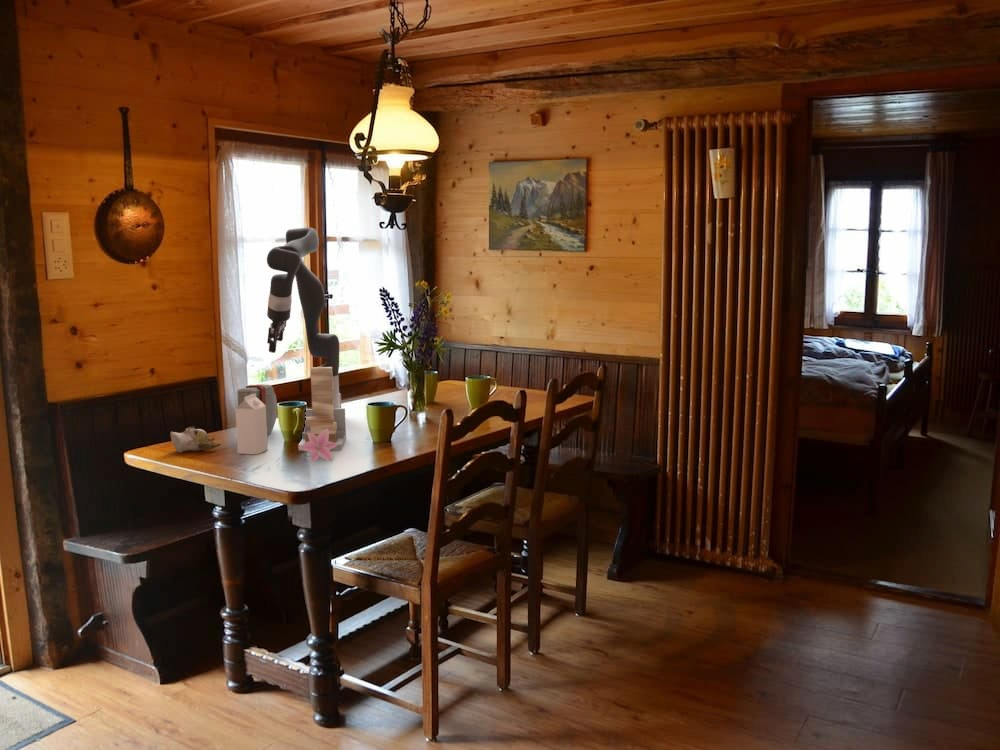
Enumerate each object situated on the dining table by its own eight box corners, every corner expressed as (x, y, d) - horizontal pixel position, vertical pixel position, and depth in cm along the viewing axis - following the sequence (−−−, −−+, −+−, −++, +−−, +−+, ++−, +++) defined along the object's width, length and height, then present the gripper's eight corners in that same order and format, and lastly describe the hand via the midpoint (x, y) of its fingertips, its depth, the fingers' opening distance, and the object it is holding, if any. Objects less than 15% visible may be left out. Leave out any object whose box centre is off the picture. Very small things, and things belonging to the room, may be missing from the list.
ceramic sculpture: (167, 423, 291) (214, 421, 298) (167, 449, 292) (213, 446, 299) (173, 430, 282) (220, 427, 289) (173, 456, 283) (220, 453, 290)
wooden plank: (314, 436, 302) (311, 367, 298) (334, 435, 302) (332, 366, 299) (313, 437, 300) (310, 368, 296) (334, 437, 300) (331, 368, 296)
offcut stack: (307, 439, 297) (306, 416, 296) (337, 438, 298) (336, 415, 297) (304, 443, 291) (303, 419, 290) (335, 442, 292) (334, 419, 291)
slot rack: (305, 440, 305) (304, 409, 303) (346, 439, 306) (344, 408, 304) (298, 451, 289) (296, 418, 287) (341, 450, 290) (339, 417, 288)
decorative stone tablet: (254, 388, 292) (278, 381, 322) (234, 388, 292) (261, 381, 322) (255, 445, 293) (279, 433, 323) (235, 445, 294) (262, 433, 323)
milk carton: (237, 453, 286) (234, 396, 283) (248, 448, 293) (245, 392, 290) (257, 455, 284) (254, 397, 281) (268, 449, 291) (265, 393, 288)
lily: (294, 463, 277) (297, 443, 272) (308, 443, 286) (311, 423, 281) (327, 474, 276) (330, 454, 271) (340, 454, 285) (343, 434, 280)
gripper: (274, 293, 301) (270, 334, 309) (262, 311, 288) (258, 353, 296) (296, 298, 301) (291, 339, 309) (284, 316, 289) (280, 358, 297)
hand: (275, 346), depth 303 cm, fingers open, 8 cm apart
